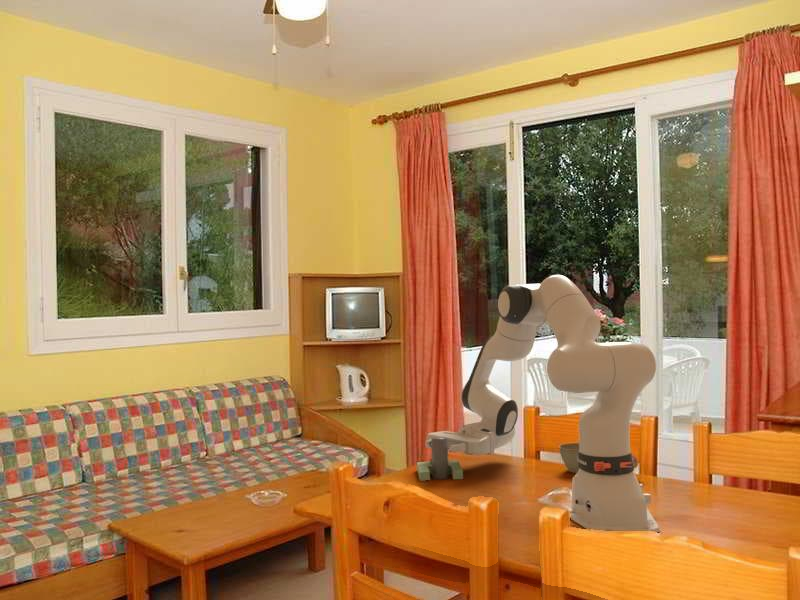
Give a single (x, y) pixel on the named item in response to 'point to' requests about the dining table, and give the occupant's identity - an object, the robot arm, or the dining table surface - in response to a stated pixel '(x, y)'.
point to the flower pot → (570, 456)
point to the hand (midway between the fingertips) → (438, 446)
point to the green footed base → (426, 470)
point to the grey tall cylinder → (439, 457)
